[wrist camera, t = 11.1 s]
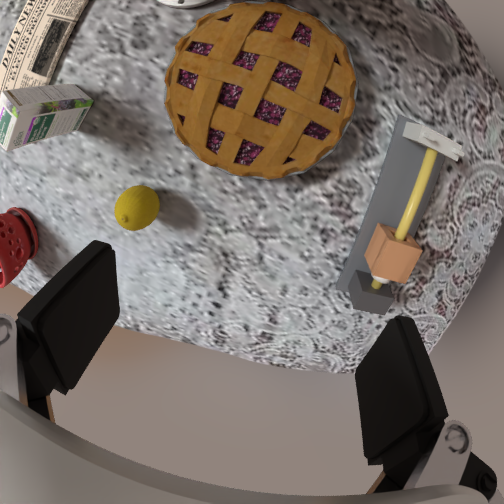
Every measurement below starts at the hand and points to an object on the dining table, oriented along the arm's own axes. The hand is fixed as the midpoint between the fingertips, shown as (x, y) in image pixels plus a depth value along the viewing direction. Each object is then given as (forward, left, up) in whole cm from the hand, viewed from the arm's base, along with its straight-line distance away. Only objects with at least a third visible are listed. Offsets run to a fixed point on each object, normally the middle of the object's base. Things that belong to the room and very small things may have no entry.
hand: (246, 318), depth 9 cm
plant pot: (+22, -47, -29) cm, 59 cm away
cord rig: (+3, +17, -28) cm, 33 cm away
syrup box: (-3, -31, -28) cm, 42 cm away
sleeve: (+7, +17, -27) cm, 32 cm away
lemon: (+9, -16, -28) cm, 34 cm away
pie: (-8, -4, -29) cm, 30 cm away
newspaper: (-17, -44, -29) cm, 56 cm away
